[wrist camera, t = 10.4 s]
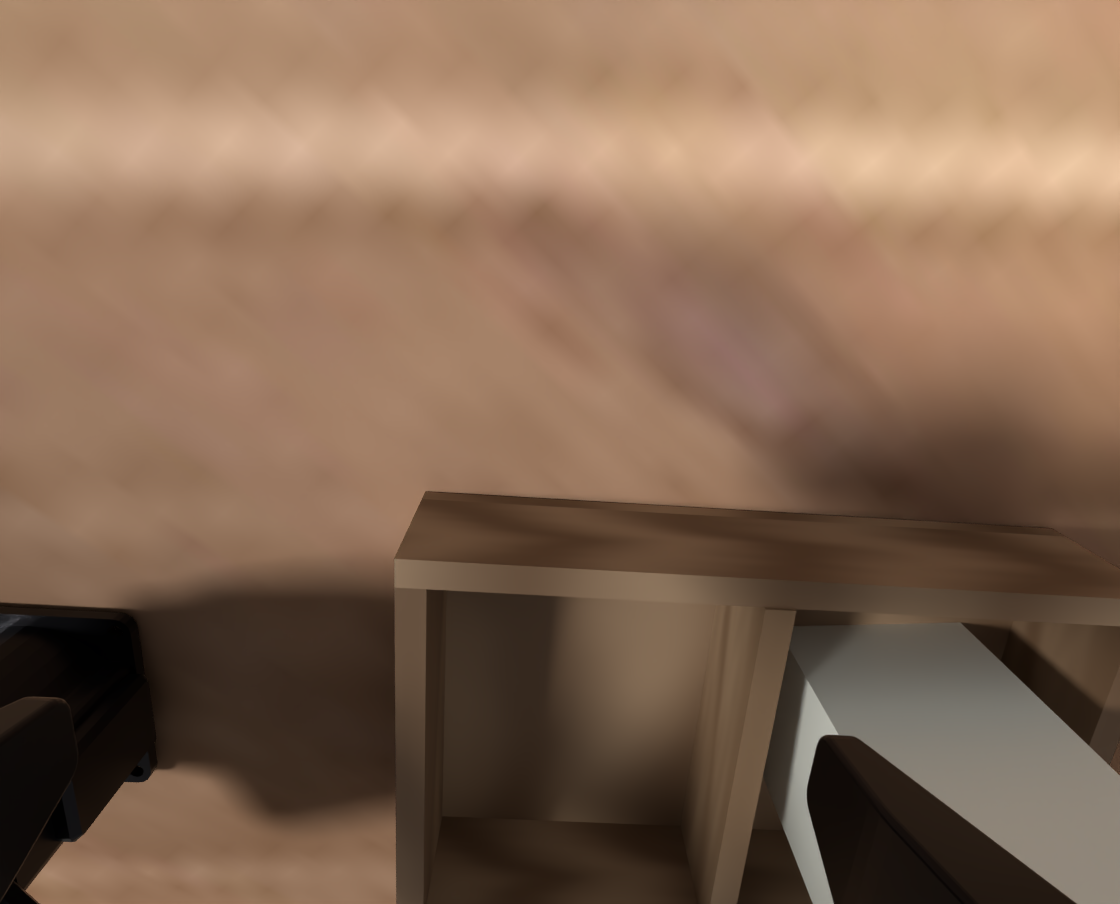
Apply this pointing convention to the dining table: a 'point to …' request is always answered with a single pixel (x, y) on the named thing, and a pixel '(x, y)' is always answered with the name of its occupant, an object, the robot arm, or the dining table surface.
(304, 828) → the dining table surface
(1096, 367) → the dining table surface
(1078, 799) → the box
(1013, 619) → the crate
